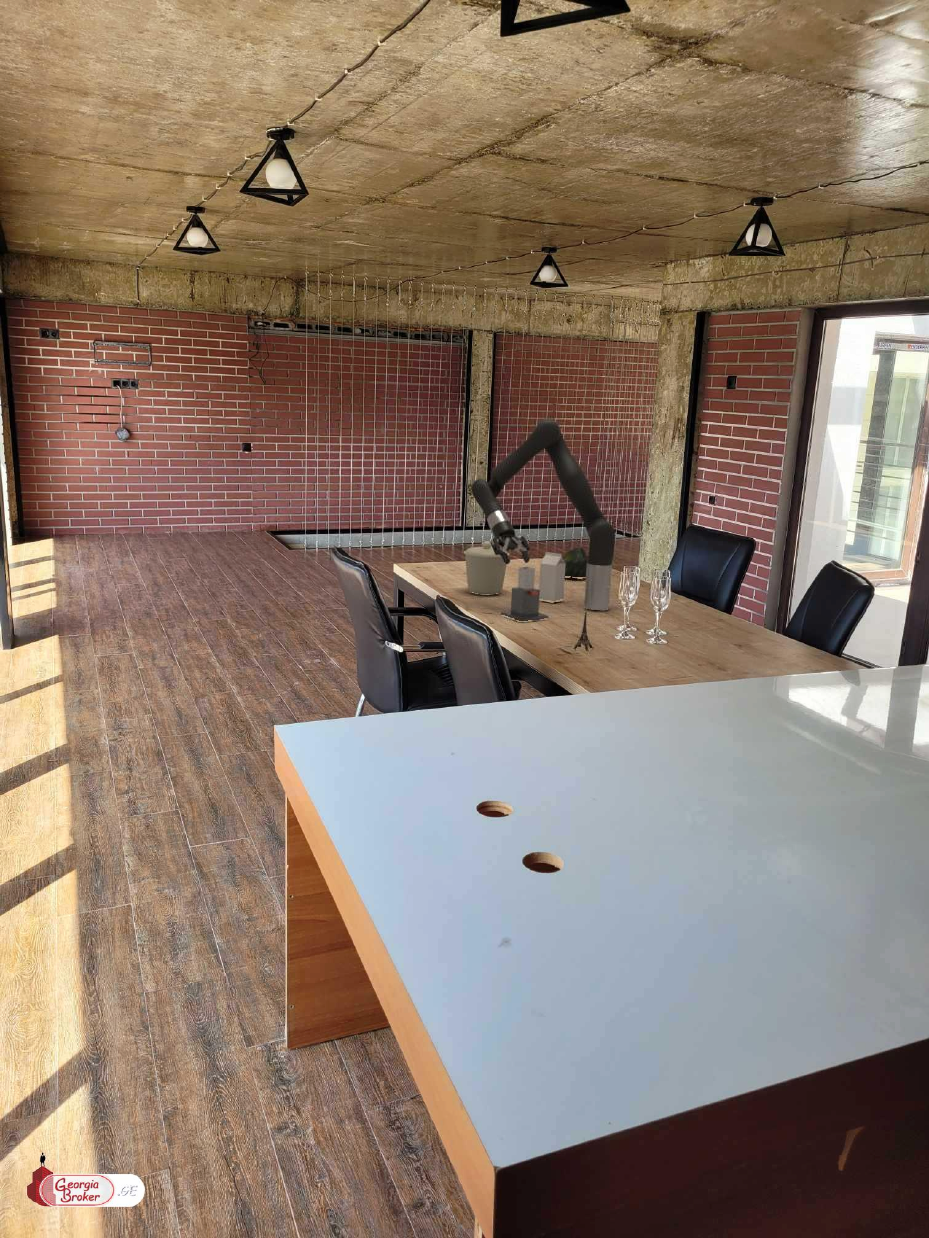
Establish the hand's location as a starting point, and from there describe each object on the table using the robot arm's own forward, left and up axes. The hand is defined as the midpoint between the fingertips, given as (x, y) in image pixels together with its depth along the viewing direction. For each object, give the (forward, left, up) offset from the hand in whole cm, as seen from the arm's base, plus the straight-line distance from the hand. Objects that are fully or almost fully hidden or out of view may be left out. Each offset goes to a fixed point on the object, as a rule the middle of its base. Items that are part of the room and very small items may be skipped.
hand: (518, 562), depth 329 cm
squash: (-14, -84, -19) cm, 87 cm away
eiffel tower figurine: (-27, +41, -20) cm, 53 cm away
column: (-4, +4, -17) cm, 18 cm away
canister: (+17, -35, -19) cm, 44 cm away
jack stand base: (-4, +4, -19) cm, 20 cm away
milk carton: (-10, -29, -19) cm, 36 cm away
